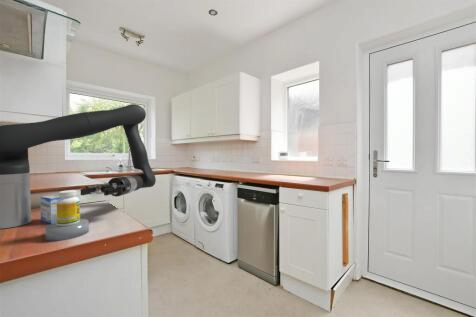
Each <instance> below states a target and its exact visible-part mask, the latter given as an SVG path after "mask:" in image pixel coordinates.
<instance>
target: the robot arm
mask: <svg viewBox="0 0 476 317" xmlns="http://www.w3.org/2000/svg"><path fill="white" fill-rule="evenodd" d="M146 116H147V112H146V110H145V109H144V107H143V106H141V105H139V104H135V103H132V104H128V105H125V106H122V107H116V108H113V109H104V110H93V111H85V112H78V113H72V114H67V115H62V116H58V117H55V118H51V119H47V120H43V121H36V122H26V123H15V124H2V125H0V229H8V228H9V229H11V228H15V227H19V226H24V225H27V224H30V223H31V222H32V202H31V200H32V199H31V174H30V173H31V172H30V168H31V167H30V161H29V148H32V147H36V146H38V145H43V144H47V143H50V142H57V141H66V140H73V139H80V138H84V137H90V136H94V135H96V134H99V133H103V132H106V131H108V130H110V129H113V128H117V127H120V126H122V127H123V131H124V133H125V136H126V139H127V143H128V147H129V151H130V156H131V162H132V166H133V168H134V169H135V170H140V171H141V172H142V173H136V174H131V175H123V176H117V177H112V178H111V179H110V180H109V181H108V182H104V183H101V184H98V183H97V184H92V185H86V186H84V188H80V196H87V195H92V194H96V195H101V194H102V195H103V196H106V197H107V196H112V197H121V196H124V195H128V194H130V193H132V192H135V191H138V190H139V189H144V188H146V189H147V188H152V187H154V186H155V185H156V179H157V178H156V175H155V173H154V172H153V169H152V168H151V165H150V162H149V157H148V153H147V152H148V151H147V149H146V146H145V144H144V141H143V140H142V138H141V134H140V132H139V125H140V124H141V123H143V122H144V121H145V119H146Z"/></svg>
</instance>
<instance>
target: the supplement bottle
mask: <svg viewBox="0 0 476 317" xmlns="http://www.w3.org/2000/svg"><path fill="white" fill-rule="evenodd" d="M58 193H59V194H58V196H59V197H61V198H60V199H58V200H57V202H56V204H57V225H58V226H70V225H74V224H77V223H79V222H80V219H81V210H80V209H81V208H80V205H81V204H80V198H79V197H77V195H78V193H77V190H76V189H75V190H74V189H70V190H63V191H59V192H58Z"/></svg>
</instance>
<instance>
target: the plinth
mask: <svg viewBox="0 0 476 317" xmlns="http://www.w3.org/2000/svg"><path fill="white" fill-rule="evenodd" d="M89 224H90V223H89V219H87V218H80V222H79V223H77V224H74V225H70V226H58V225H57V222H56V223H53V224H51V223H49V224H48V225H46V226H45V227H44V229H45V230H44V231H45V232H44V235H45V240H46V241H49V242H58V241H66V240H71V239H75V238H78V237H81V236H84V235H87V234H88V233H89V231H90V228H89V227H90V226H89Z"/></svg>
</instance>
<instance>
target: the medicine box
mask: <svg viewBox="0 0 476 317" xmlns="http://www.w3.org/2000/svg"><path fill="white" fill-rule="evenodd" d="M60 198H61V197H59V195H44V196H40V221H41V222H43V223H47V224H53V223H56V222H57V204H56V202H57V200H58V199H60Z"/></svg>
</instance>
